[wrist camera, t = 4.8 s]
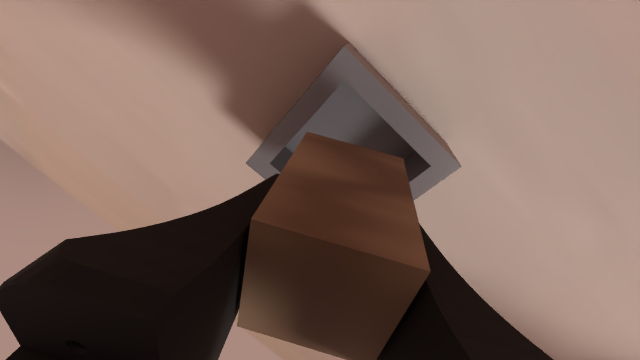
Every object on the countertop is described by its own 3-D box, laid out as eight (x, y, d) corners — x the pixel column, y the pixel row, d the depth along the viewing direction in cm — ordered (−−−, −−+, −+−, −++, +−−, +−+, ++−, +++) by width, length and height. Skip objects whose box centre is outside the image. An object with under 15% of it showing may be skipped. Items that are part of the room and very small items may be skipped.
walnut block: (403, 158, 11) (430, 271, 6) (371, 233, 13) (371, 367, 8) (307, 131, 11) (250, 218, 6) (290, 209, 13) (236, 325, 8)
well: (446, 143, 16) (461, 166, 14) (351, 216, 20) (347, 247, 17) (349, 42, 15) (344, 45, 12) (264, 142, 18) (245, 163, 16)
